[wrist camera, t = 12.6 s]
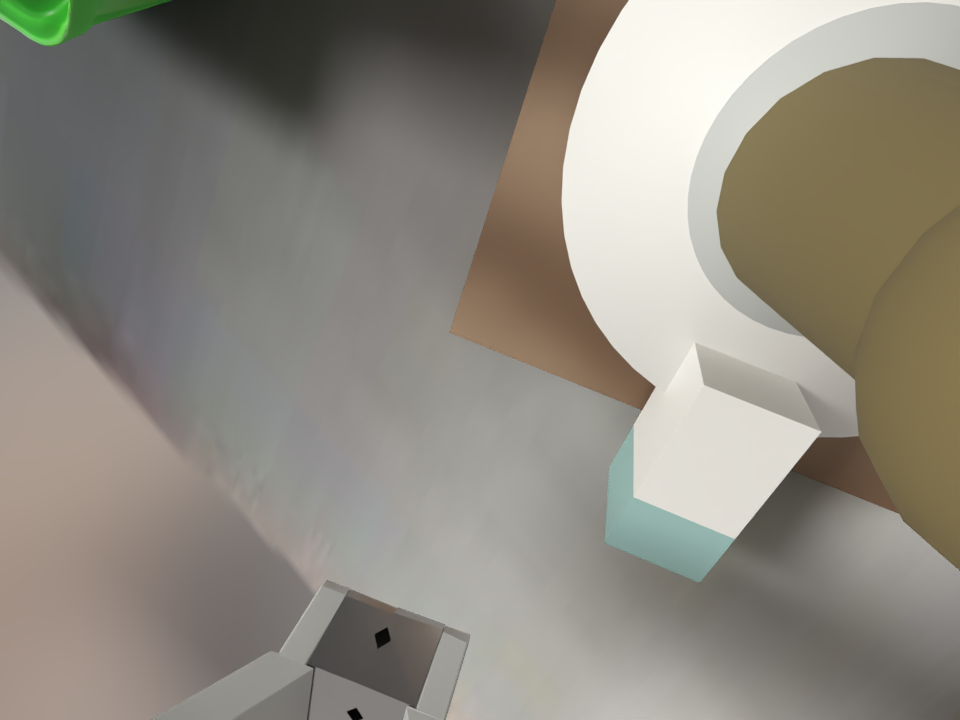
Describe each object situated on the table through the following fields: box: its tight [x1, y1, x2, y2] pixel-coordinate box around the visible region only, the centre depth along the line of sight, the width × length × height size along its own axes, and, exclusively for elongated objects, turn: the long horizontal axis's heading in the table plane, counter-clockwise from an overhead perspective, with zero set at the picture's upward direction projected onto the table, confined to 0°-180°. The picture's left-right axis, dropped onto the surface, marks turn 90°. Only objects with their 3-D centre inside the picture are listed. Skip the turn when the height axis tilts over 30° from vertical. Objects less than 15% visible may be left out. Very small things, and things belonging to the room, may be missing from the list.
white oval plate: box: [562, 0, 960, 583], centre depth 14 cm, size 18×14×4 cm
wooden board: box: [450, 0, 899, 513], centre depth 15 cm, size 17×17×1 cm
